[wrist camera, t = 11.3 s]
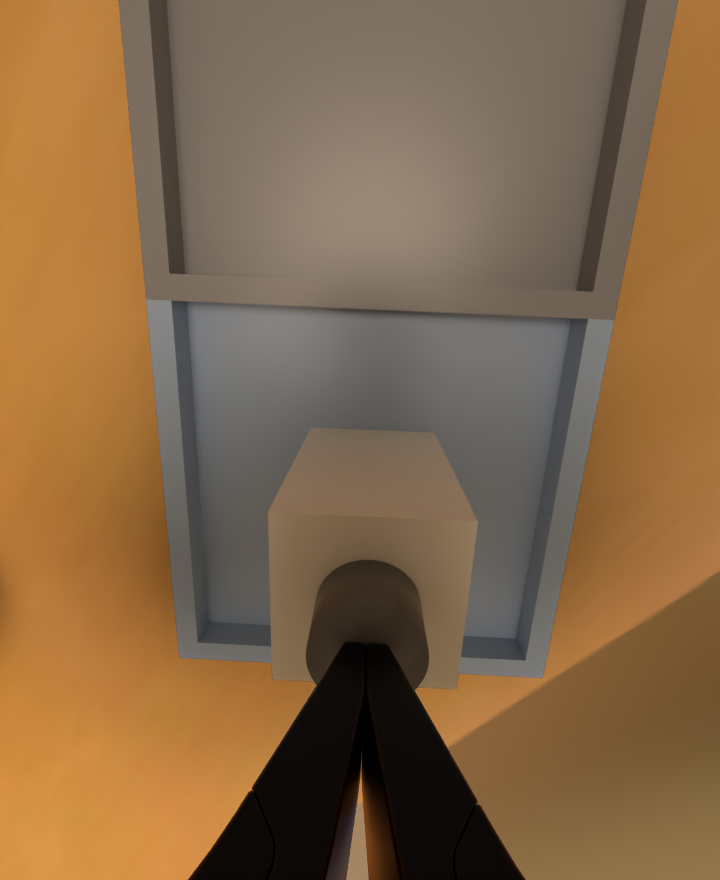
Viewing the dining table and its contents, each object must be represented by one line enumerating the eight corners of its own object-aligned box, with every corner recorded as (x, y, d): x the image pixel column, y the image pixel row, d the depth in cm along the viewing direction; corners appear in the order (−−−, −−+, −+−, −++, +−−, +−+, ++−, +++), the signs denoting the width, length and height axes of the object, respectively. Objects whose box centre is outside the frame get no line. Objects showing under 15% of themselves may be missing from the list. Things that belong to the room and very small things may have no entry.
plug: (434, 432, 16) (498, 563, 8) (424, 542, 17) (470, 752, 9) (311, 427, 16) (248, 550, 8) (310, 537, 18) (255, 740, 9)
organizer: (702, -289, 11) (754, -384, 10) (529, 648, 19) (542, 677, 18) (121, -302, 11) (81, -398, 10) (194, 630, 19) (179, 657, 18)
